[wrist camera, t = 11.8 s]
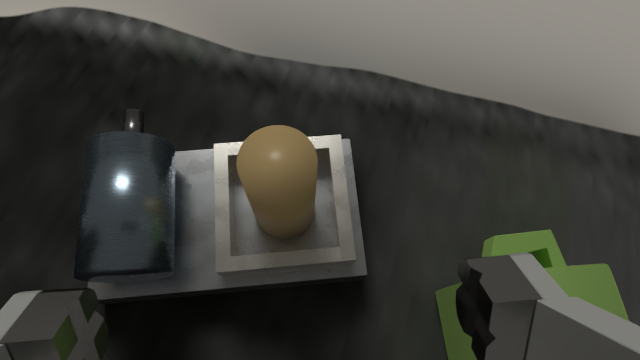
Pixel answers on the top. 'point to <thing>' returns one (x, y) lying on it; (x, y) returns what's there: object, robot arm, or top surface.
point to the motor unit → (203, 222)
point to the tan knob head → (279, 179)
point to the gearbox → (574, 280)
